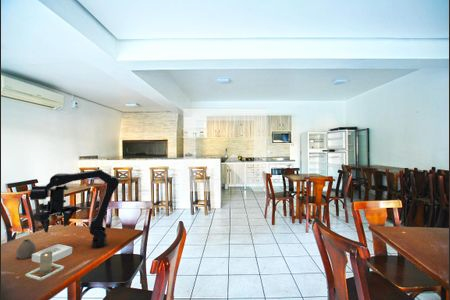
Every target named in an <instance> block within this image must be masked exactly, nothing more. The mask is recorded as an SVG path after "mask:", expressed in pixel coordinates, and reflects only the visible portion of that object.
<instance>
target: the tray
mask: <svg viewBox="0 0 450 300" xmlns="http://www.w3.org/2000/svg"><path fill="white" fill-rule="evenodd" d="M52 267H55V268H56V269H55V270H54V271H51V272H50V273H47V274H44V276H42V277H40V276H36V275H34V273H36V272H38V271H40V267H37V268H36V269H33V270H32V271H29V272H27V273H25V274H24V277H26V278H27V277H28V278H30V279H34V280H37V281H40V282H41V281H43V280H45V279H47V278H48V277H51V276H52V275H54V274H57V273H58V272H60V271H62V270H64V269H65V268H66V266H65V265H61V264H56V263H54V262H53V263H52Z"/></svg>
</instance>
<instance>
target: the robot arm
mask: <svg viewBox="0 0 450 300" xmlns="http://www.w3.org/2000/svg"><path fill="white" fill-rule="evenodd" d="M95 178H99V179H100V180H102V181H103V182H104V183H105V184H106V186H105V192H104V195H103V198H102V201H101V204H100V205H99V206H100V207H98V208H99V209H98V211H97V214H96V216H95V217H94V218H93V217H92V218H91V222H90V223H89V226H88V229H89V234H90V235H91V236H93V237H92V243H91V249H96V250H97V249H99V248H104V247H105V246H109V243H107V239H108V238H107V235H108V234H107V229H106V227H104V219H105V215H106V213H107V210H108V207H109V205H110V202H111V199H112V197H113V194H114V192H115V191H116V190H117V188H118V186H119V184H120V181H119V178H118V177H117V176H114V175H111V174H109V173H107V172H106V171H103V170H102V169H96V170H89V171H83V172H82V171H81V172H75V173H56V174H54V175H52V176H51V177H50V178H49V182H47V184H46V185H32V186H31V189H30V193H29V200H30V201H39V200H41V201H42V200H43V201H44V200H46V199H47V198H49V200H47V204H44V203H39V204H37V207H36V209H37V211H38V212H35V213H34V214H33V215H32V220H33V221H37V222H39V223H40V224H41V226H42V228H43V231H44V232H45V233H48V231H49V227H50V222H51V216H54V215H55V216H56V215H58V214H62V215H63V223H62V224H63V227H67V225H68V223H69V222H70V220H71V218H72V217H73V215H75V214H76V212H78V207H77V206H76V205H72V204H68V205H65V206H64V204H65V203H66V202H67V200H66V199H65V191H68V190H69V188H70V187H69V186H67V185H66V184H68V183H69V184H70V183H73V182H76V181H82V180H88V179H90V180H91V179H95ZM39 211H40V212H39Z"/></svg>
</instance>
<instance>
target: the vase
mask: <svg viewBox="0 0 450 300" xmlns="http://www.w3.org/2000/svg"><path fill="white" fill-rule="evenodd" d="M36 251H37V250H36V244H35V243H34V242H33V241H32V240H31V239H30V238H27V239H24V240H23V241H22V243H20V245H19V246H18V247H17V249H16V257H17V258H18V259H19V260H26V259H30V258H32V254H33V253H36Z"/></svg>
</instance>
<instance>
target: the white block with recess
mask: <svg viewBox="0 0 450 300" xmlns="http://www.w3.org/2000/svg"><path fill="white" fill-rule="evenodd" d="M44 252H52V263H53V264H54V263H55V262H58V261H59V260H61V259H63V258H65V257H67V256H70V255H72V254H73V247H72V246H69V245H64V244H60V243H57V244H54V245H52V246H49V247H45V248H44V249H42V250H39V251H37V252H36V251H35V253H33V254H32V257H31V262H34V263H38V264H40V255H41V254H42V253H44Z"/></svg>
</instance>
